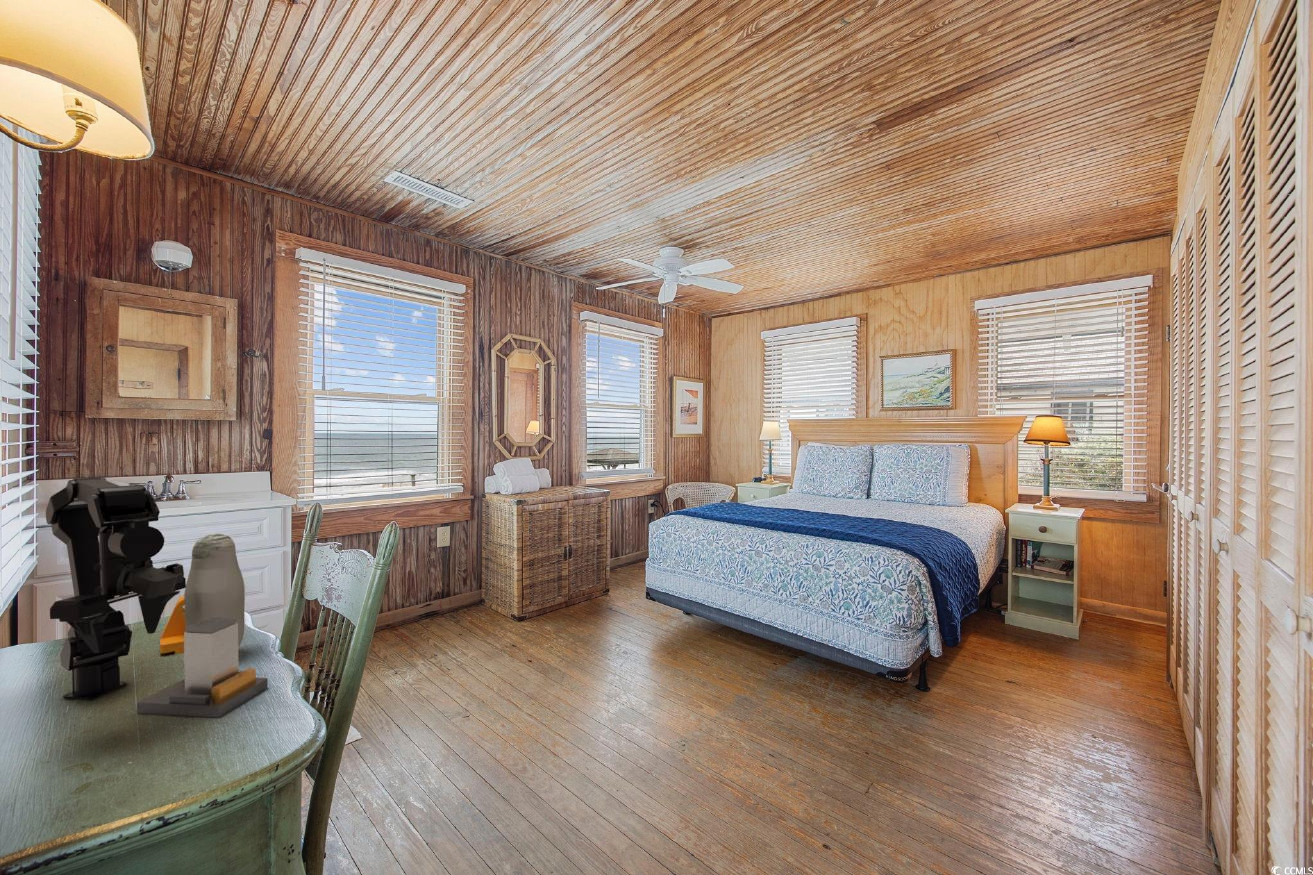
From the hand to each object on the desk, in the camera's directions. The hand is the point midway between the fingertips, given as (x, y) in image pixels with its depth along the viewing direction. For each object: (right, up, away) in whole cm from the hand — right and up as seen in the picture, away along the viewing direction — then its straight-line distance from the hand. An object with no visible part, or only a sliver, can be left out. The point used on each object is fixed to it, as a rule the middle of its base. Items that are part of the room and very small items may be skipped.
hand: (125, 642), depth 97 cm
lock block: (+11, -11, +6) cm, 17 cm away
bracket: (-15, -13, +31) cm, 37 cm away
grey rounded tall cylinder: (-3, -13, +24) cm, 28 cm away
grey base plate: (+9, -13, +6) cm, 17 cm away
